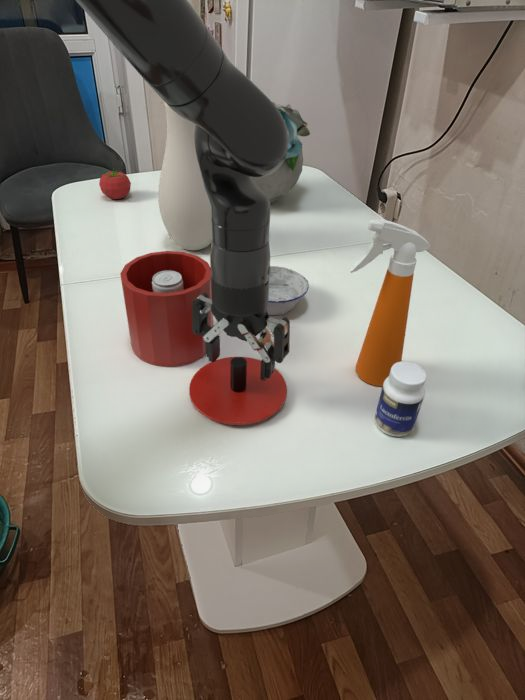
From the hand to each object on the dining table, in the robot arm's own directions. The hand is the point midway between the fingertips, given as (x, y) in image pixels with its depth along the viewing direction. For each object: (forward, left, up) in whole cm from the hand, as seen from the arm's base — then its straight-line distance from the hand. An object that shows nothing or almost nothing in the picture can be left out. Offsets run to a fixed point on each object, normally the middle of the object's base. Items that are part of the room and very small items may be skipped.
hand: (239, 367), depth 75 cm
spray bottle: (+14, -16, -5) cm, 22 cm away
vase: (+38, +32, -5) cm, 50 cm away
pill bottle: (+5, -23, -5) cm, 24 cm away
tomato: (+51, +64, -5) cm, 82 cm away
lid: (0, 0, -4) cm, 4 cm away
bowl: (+25, +6, -5) cm, 26 cm away
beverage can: (+6, +16, -5) cm, 18 cm away
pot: (+6, +16, -5) cm, 18 cm away
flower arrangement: (+70, +31, -5) cm, 77 cm away
